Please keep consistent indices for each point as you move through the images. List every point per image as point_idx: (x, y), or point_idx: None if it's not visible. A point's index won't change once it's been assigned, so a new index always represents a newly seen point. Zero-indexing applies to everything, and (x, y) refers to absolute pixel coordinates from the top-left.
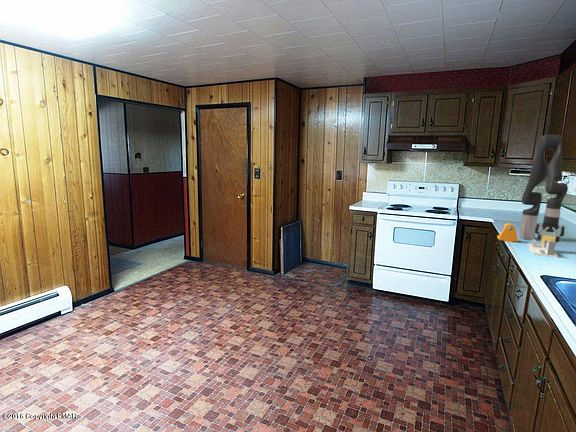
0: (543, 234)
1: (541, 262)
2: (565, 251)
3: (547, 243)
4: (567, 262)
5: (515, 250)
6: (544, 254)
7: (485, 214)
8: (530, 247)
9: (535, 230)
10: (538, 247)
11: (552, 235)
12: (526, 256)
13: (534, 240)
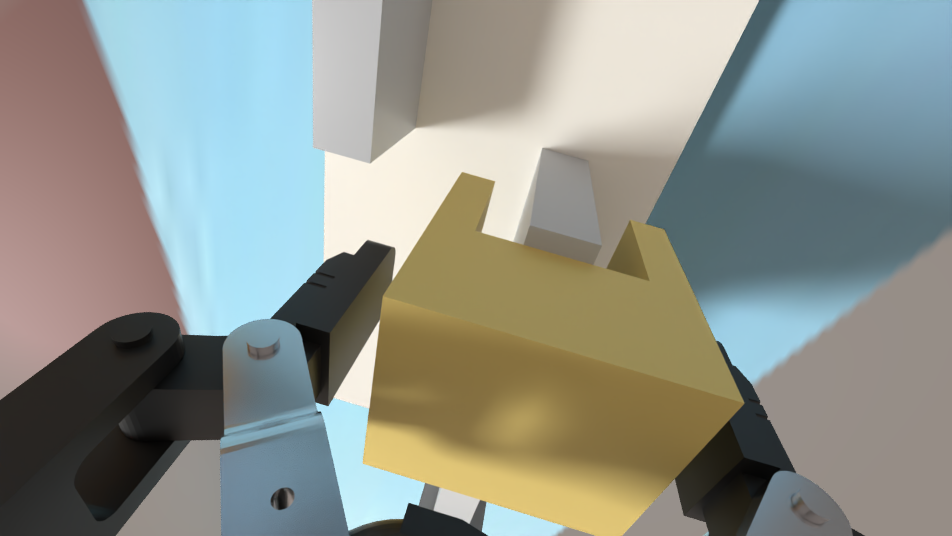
0: (399, 364)
1: (349, 525)
2: (929, 148)
3: None
4: (532, 525)
5: (185, 285)
6: None
7: None
8: (333, 174)
9: (67, 391)
10: (461, 128)
11: (636, 442)
12: None
13: (339, 103)
